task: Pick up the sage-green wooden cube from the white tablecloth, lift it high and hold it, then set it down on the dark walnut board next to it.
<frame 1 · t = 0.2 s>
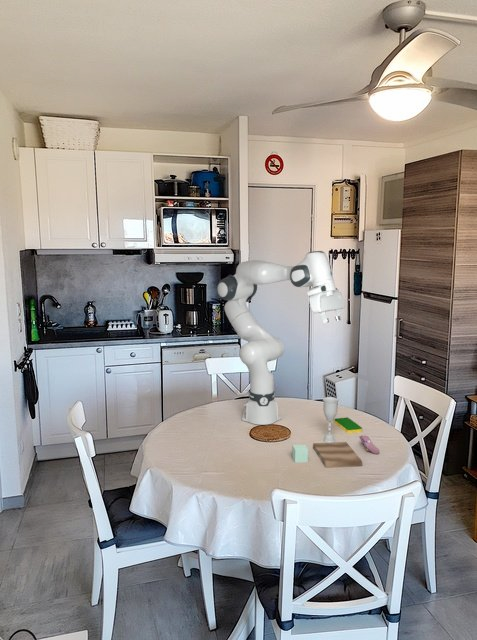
hand: (332, 321, 196), 52 cm above the table, tool tilted 20°, fingers open, 8 cm apart
walnut board: (336, 456, 190), on the table
video game controller: (368, 450, 196), on the table
chalice: (329, 440, 206), on the table
sage cube: (299, 459, 187), on the table
dish sponge: (347, 428, 221), on the table
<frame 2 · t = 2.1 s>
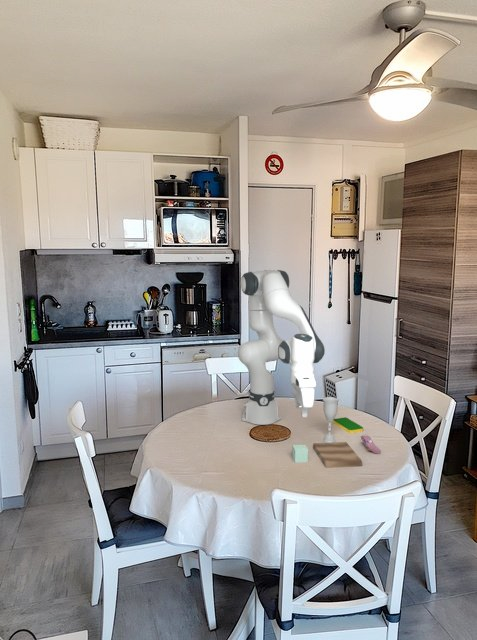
hand: (301, 412, 184), 19 cm above the table, tool pointing down, fingers open, 8 cm apart
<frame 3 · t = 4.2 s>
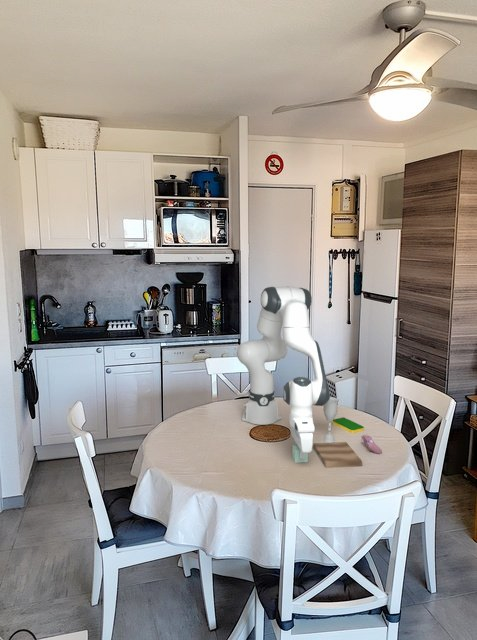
hand: (300, 454, 187), 2 cm above the table, tool pointing down, fingers closed on sage cube, 5 cm apart
sage cube: (299, 459, 187), on the table, touching gripper
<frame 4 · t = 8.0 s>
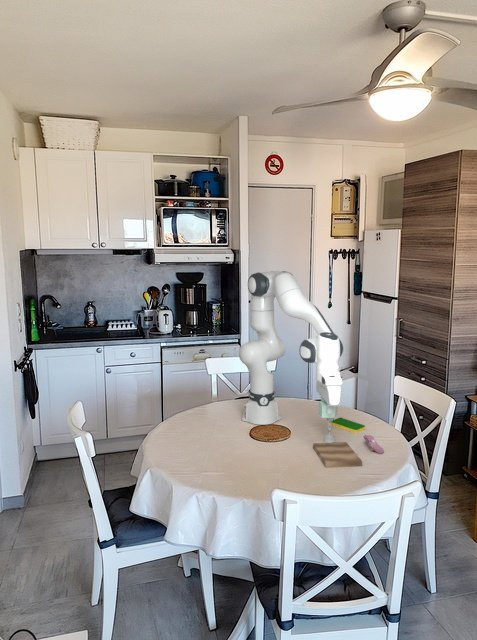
hand: (326, 410, 186), 19 cm above the table, tool pointing down, fingers closed on sage cube, 5 cm apart
sage cube: (326, 415, 186), point 17 cm above the table, touching gripper
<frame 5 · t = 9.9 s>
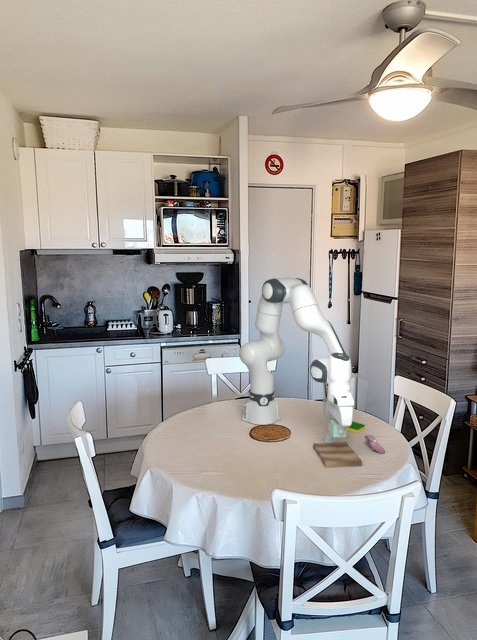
hand: (337, 429, 188), 11 cm above the table, tool pointing down, fingers closed on sage cube, 5 cm apart
sage cube: (337, 434, 188), point 9 cm above the table, touching gripper
when the fingers open (6 cm above the table, at t = 11.8 s): sage cube drops 1 cm, resting on walnut board.
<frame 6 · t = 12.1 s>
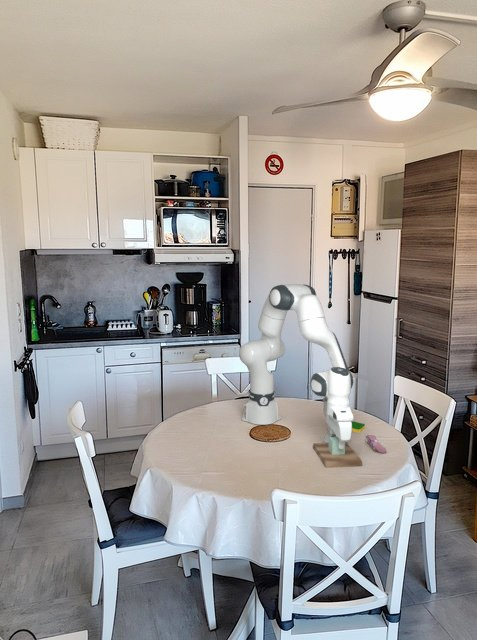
hand: (336, 443, 189), 6 cm above the table, tool pointing down, fingers open, 8 cm apart
sage cube: (336, 451, 190), point 2 cm above the table, touching walnut board
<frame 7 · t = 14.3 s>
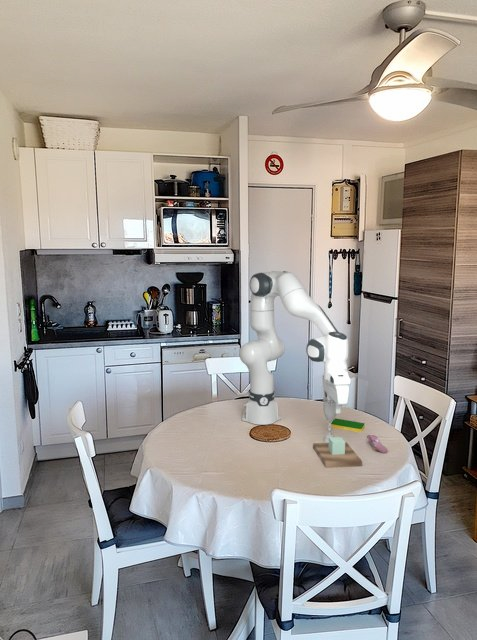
hand: (333, 408, 188), 19 cm above the table, tool pointing down, fingers open, 8 cm apart
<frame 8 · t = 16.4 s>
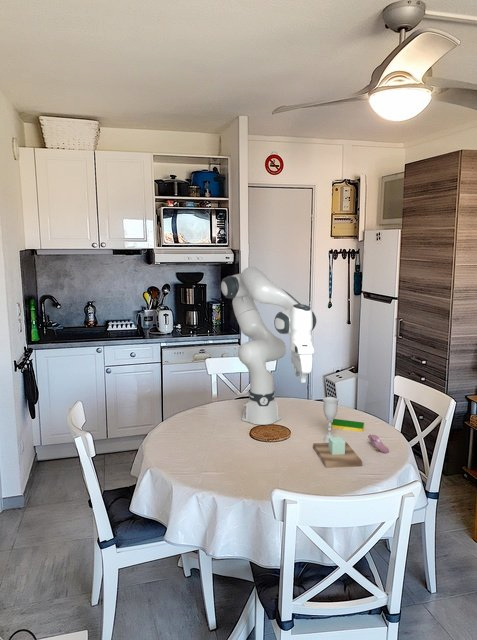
hand: (300, 379, 194), 29 cm above the table, tool pointing down, fingers open, 8 cm apart
at the end: sage cube inside the target area on the walnut board (0.1 cm from its centre), point 2.0 cm above the walnut board's base; sage cube tilted 0°; the gripper is holding nothing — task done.
